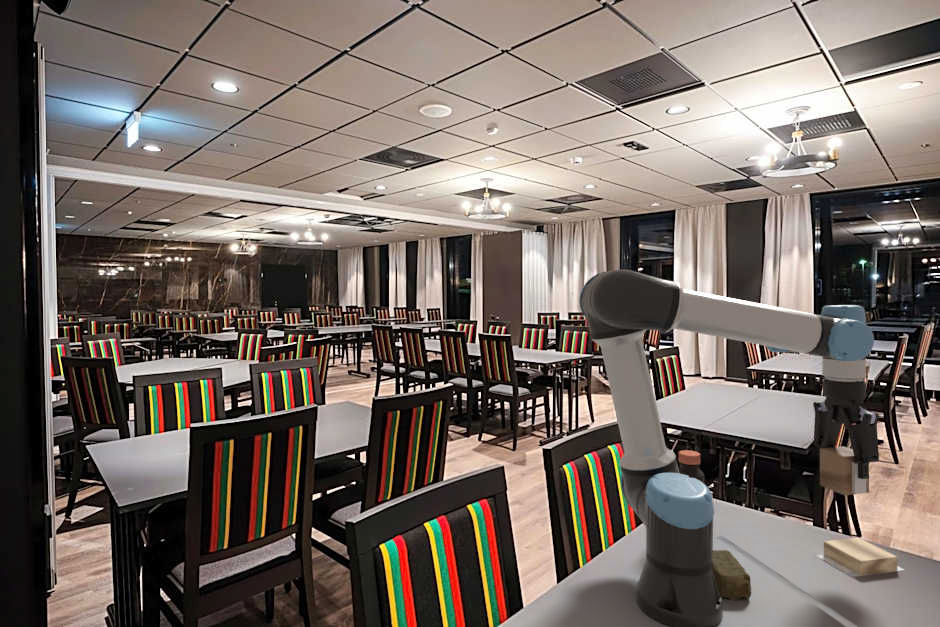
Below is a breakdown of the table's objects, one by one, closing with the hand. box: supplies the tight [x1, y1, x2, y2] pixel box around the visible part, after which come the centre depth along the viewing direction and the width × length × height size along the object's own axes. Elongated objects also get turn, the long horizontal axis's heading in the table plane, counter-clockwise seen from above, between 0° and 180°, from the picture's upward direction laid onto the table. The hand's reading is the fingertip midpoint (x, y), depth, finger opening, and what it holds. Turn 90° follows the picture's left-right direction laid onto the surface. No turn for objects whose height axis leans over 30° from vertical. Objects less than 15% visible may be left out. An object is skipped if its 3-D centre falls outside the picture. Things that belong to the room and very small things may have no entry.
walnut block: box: [819, 446, 870, 496], centre depth 112 cm, size 6×6×8 cm
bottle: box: [678, 449, 705, 484], centre depth 130 cm, size 7×7×20 cm
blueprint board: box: [816, 554, 905, 578], centre depth 114 cm, size 13×9×1 cm
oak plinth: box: [823, 537, 898, 577], centre depth 114 cm, size 9×9×3 cm
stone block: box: [712, 549, 752, 600], centre depth 108 cm, size 6×12×5 cm, turn 176°
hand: (844, 487), depth 113 cm, fingers closed on walnut block, 6 cm apart
